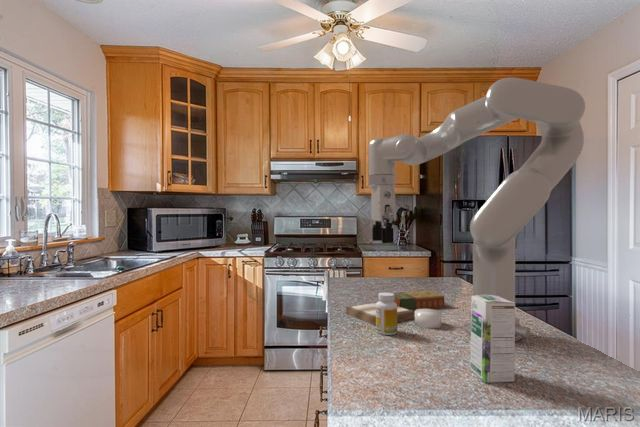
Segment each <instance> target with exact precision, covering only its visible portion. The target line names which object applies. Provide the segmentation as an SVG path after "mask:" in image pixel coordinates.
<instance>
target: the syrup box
mask: <svg viewBox="0 0 640 427" xmlns="http://www.w3.org/2000/svg"><path fill="white" fill-rule="evenodd" d="M470 298H471V304H470V308H471V309H470V310H471V311H470V319H471V320H470V323H471V334H470V371H471V372H473V373H474V374H475V375H476V376H477V377H478V378H479V379H480V380H482V381H483V383H485V384H488V383H489V384H493V383H495V384H496V383H510V382H511V383H512V382H513V383H514V382H515V370H516V369H515V364H516V363H515V362H516V361H515V360H516V359H515V358H516V346H515V345H516V341H515V318H516V301H515V302H511V301H508V300H506V299H504V298H501V297H499V296H494V295H475V296H473V295H471V297H470Z"/></svg>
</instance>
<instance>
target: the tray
mask: <svg viewBox="0 0 640 427" xmlns="http://www.w3.org/2000/svg"><path fill="white" fill-rule="evenodd" d="M377 302H378V301H375V302H374V301H373V302H369V303H363V304H357V305H351V306H346V307H345V308H346V311H345V312H346V315H348V316H351V317H354V318H356V319H358V320H361V321H364V322H365V323H369V324H371V325H373V326H375V327H376V303H377ZM411 319H415V310H409V309H405V308H402V307H399V306H397V323H398V322H402V321H409V320H411Z"/></svg>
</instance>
